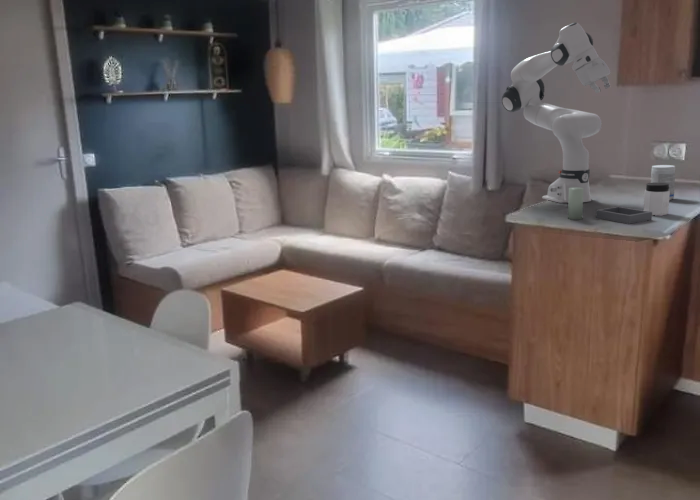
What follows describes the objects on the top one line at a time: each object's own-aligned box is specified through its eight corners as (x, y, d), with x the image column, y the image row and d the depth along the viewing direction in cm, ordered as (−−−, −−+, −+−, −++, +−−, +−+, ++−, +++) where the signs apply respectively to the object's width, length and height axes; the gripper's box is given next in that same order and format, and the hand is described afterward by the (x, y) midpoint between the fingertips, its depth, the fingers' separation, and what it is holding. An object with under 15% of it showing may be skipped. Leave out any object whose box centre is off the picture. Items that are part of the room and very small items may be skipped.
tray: (595, 217, 257) (596, 210, 256) (617, 214, 262) (618, 206, 261) (629, 223, 243) (629, 215, 242) (651, 219, 248) (652, 211, 247)
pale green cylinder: (564, 218, 259) (565, 188, 256) (575, 216, 261) (576, 186, 258) (575, 220, 254) (576, 189, 251) (585, 218, 256) (586, 188, 253)
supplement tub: (678, 198, 289) (680, 165, 285) (666, 201, 284) (668, 167, 280) (657, 196, 297) (659, 164, 293) (645, 199, 291) (647, 166, 288)
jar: (658, 216, 253) (660, 186, 250) (639, 214, 260) (641, 184, 257) (672, 213, 258) (674, 183, 255) (652, 211, 265) (654, 181, 262)
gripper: (591, 59, 271) (607, 89, 270) (569, 68, 257) (586, 99, 257) (604, 51, 266) (620, 81, 266) (582, 59, 253) (599, 91, 252)
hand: (603, 90), depth 261 cm, fingers open, 8 cm apart
